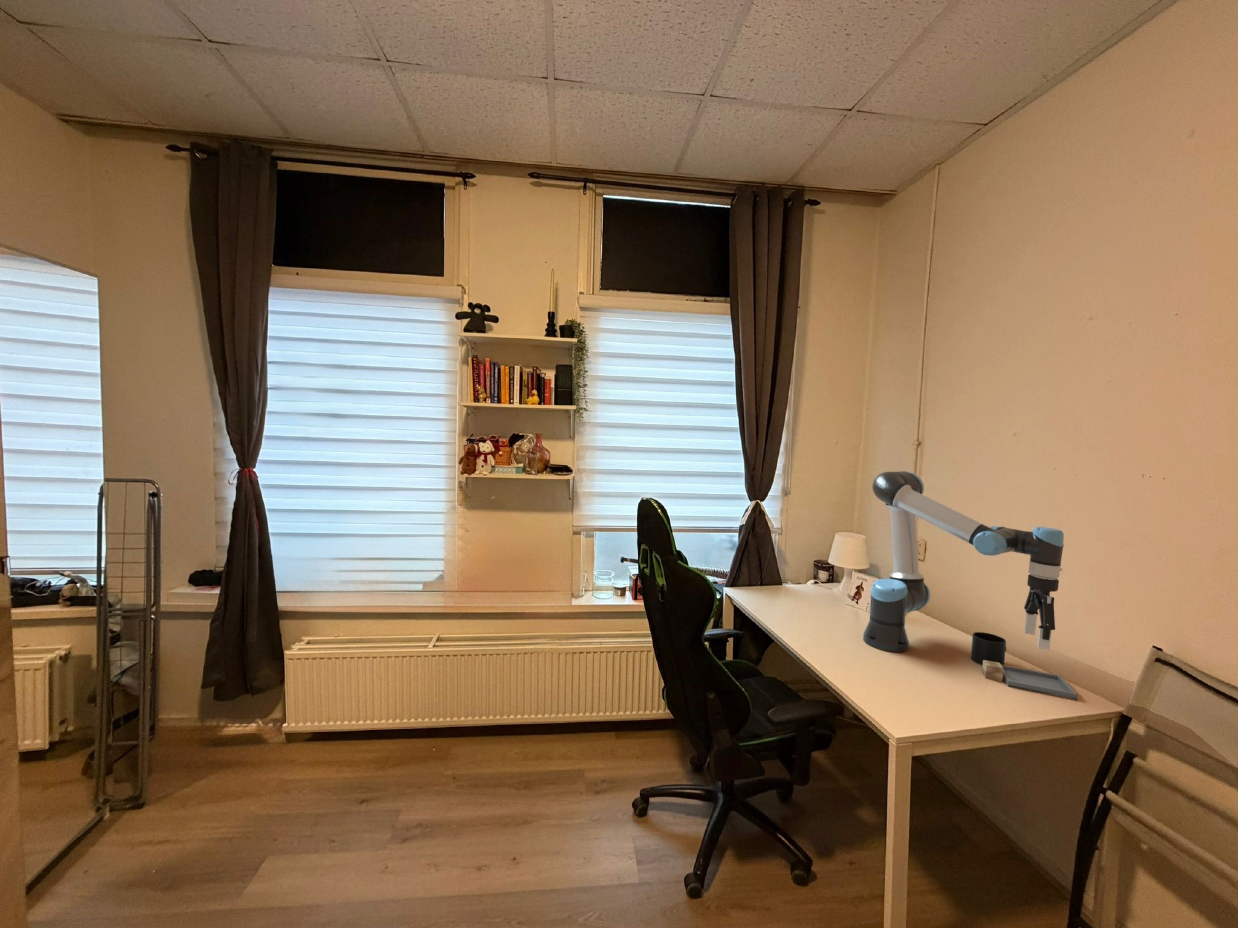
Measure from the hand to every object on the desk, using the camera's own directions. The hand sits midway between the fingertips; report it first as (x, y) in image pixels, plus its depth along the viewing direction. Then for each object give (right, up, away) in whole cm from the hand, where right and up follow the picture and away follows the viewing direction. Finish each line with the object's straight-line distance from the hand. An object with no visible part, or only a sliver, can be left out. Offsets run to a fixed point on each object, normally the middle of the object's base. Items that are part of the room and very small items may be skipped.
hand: (1036, 641), depth 161 cm
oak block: (-11, -13, +4) cm, 18 cm away
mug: (-3, -13, +15) cm, 21 cm away
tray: (0, -14, 0) cm, 14 cm away
